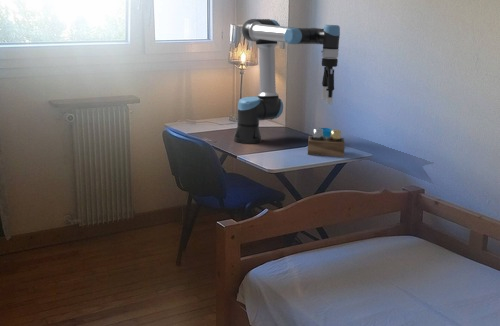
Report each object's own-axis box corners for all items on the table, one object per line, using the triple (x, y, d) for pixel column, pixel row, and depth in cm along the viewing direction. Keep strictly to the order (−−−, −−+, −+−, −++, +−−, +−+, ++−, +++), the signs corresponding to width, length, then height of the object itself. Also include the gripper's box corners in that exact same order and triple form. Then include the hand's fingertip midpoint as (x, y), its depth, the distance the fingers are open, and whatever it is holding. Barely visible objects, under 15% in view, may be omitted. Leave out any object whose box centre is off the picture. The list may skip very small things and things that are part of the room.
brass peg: (329, 142, 292) (331, 129, 290) (339, 142, 292) (340, 129, 290) (330, 144, 287) (331, 131, 286) (340, 144, 287) (341, 131, 285)
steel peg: (312, 140, 293) (313, 128, 291) (322, 141, 293) (323, 128, 291) (312, 143, 288) (313, 130, 286) (322, 143, 288) (323, 130, 286)
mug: (313, 143, 311) (314, 128, 309) (323, 141, 317) (324, 127, 314) (330, 147, 303) (331, 132, 301) (339, 145, 308) (341, 131, 306)
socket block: (307, 148, 298) (308, 135, 296) (342, 151, 296) (343, 137, 294) (307, 154, 286) (308, 140, 285) (343, 156, 285) (344, 142, 283)
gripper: (318, 55, 284) (315, 97, 290) (326, 59, 260) (323, 105, 266) (333, 56, 285) (330, 98, 290) (342, 60, 261) (339, 106, 266)
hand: (326, 102), depth 278 cm, fingers open, 13 cm apart
